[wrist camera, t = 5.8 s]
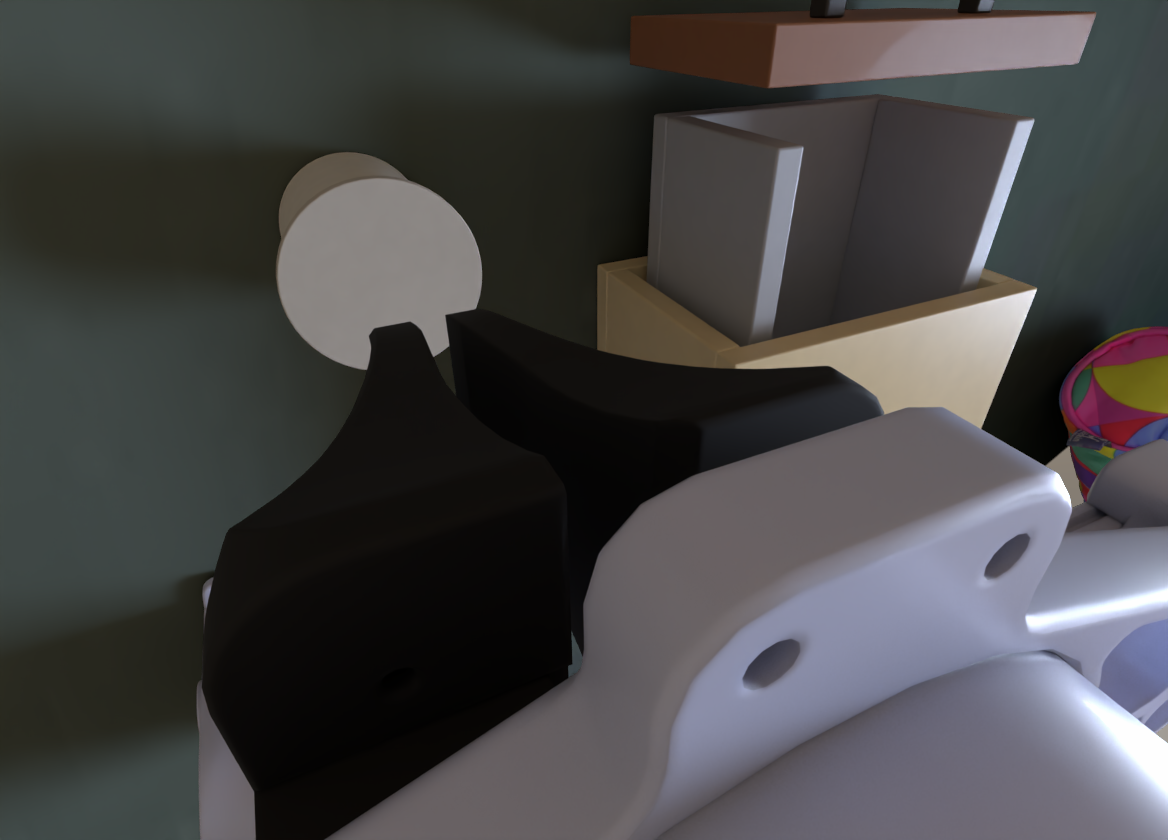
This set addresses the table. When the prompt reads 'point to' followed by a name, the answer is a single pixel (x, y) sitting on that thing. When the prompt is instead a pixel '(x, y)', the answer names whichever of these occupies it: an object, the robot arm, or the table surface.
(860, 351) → the wooden drawer cabinet
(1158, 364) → the pencil case
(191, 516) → the table surface
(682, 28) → the drawer
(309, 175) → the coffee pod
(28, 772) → the table surface
